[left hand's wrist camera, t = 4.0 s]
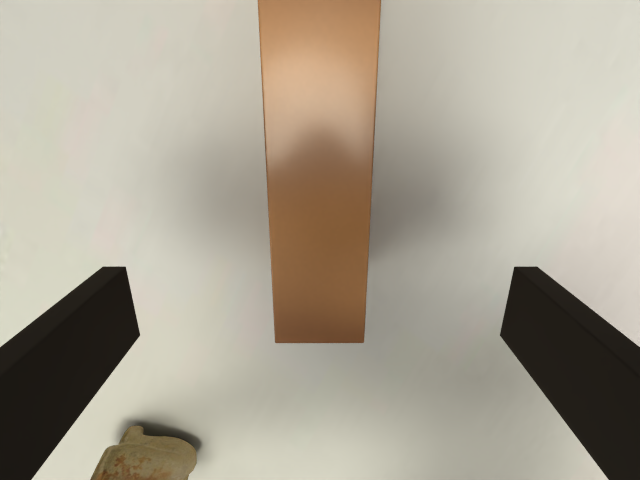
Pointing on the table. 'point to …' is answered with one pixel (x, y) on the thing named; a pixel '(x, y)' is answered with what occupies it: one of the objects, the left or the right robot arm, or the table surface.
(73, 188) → the table surface
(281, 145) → the beam
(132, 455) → the sculpture
